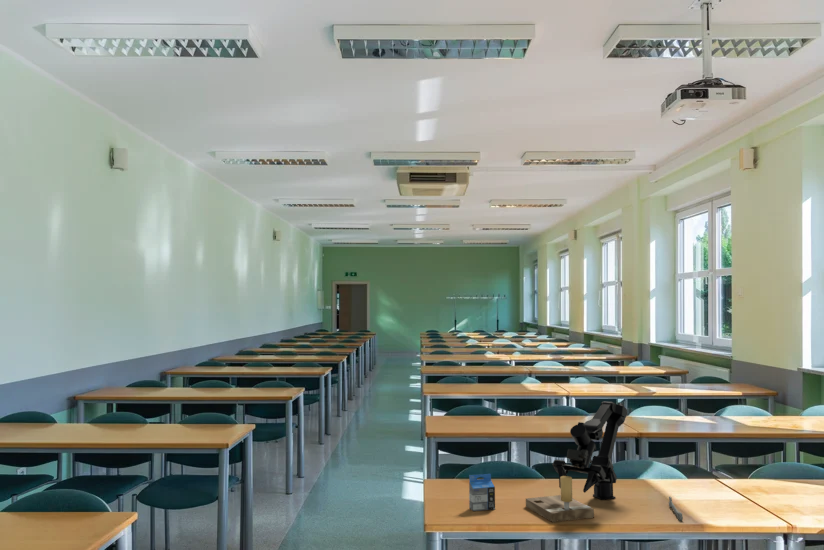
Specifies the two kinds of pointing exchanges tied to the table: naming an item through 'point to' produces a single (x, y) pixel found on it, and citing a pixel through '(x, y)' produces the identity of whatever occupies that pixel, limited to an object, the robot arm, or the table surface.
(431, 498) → the table surface
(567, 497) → the tan handled tool
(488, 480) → the ink cartridge box
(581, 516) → the subfloor panel
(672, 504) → the combination wrench
